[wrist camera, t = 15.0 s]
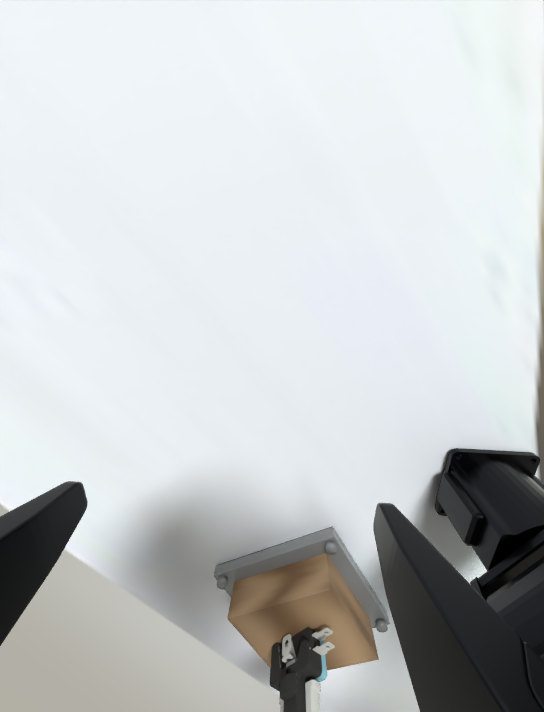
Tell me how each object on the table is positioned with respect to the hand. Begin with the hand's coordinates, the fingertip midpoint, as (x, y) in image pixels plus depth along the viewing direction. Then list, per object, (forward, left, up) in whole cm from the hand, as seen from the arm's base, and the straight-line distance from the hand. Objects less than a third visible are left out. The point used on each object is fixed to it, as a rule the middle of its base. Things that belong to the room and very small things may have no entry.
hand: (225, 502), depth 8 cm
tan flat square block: (-4, +25, -12) cm, 28 cm away
